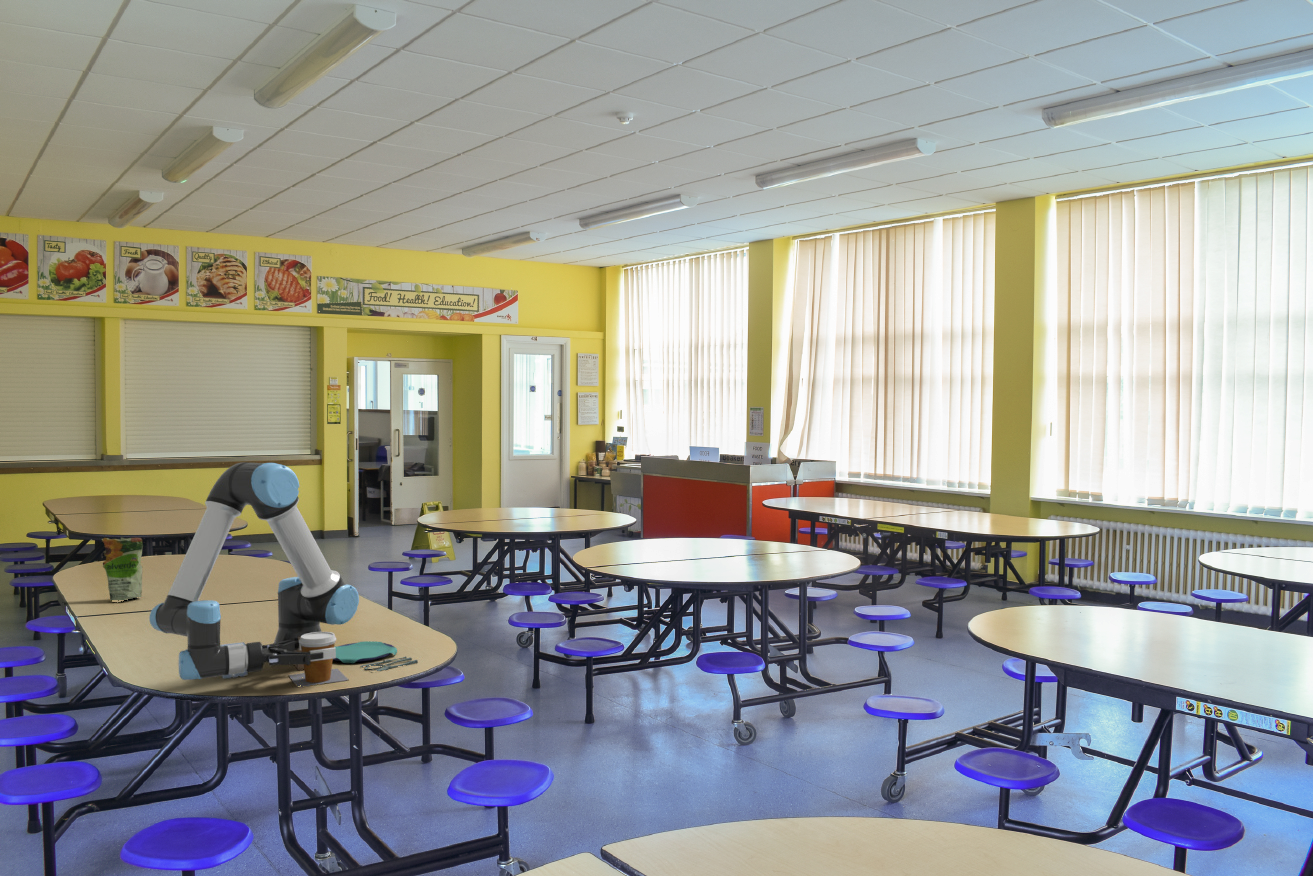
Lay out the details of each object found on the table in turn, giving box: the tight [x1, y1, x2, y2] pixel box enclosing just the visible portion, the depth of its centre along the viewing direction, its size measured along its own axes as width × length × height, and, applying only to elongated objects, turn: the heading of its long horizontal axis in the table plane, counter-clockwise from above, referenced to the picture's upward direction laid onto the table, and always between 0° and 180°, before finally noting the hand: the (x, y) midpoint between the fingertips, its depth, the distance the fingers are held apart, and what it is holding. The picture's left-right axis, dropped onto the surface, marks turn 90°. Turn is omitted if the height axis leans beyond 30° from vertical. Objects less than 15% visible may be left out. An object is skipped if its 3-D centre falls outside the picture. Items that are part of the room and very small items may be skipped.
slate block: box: [220, 641, 248, 679], centre depth 252 cm, size 6×6×8 cm
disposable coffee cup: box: [299, 631, 337, 683], centre depth 246 cm, size 10×10×12 cm
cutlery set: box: [333, 640, 419, 672], centre depth 269 cm, size 20×30×2 cm, turn 44°
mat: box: [288, 668, 349, 688], centre depth 248 cm, size 13×13×1 cm
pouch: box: [101, 536, 144, 601], centre depth 352 cm, size 11×12×25 cm
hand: (329, 647), depth 250 cm, fingers open, 13 cm apart
